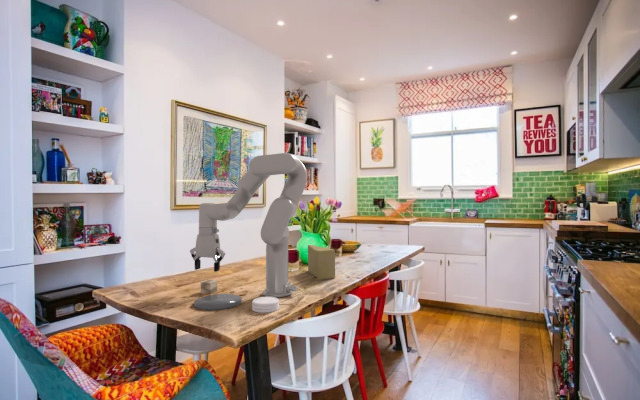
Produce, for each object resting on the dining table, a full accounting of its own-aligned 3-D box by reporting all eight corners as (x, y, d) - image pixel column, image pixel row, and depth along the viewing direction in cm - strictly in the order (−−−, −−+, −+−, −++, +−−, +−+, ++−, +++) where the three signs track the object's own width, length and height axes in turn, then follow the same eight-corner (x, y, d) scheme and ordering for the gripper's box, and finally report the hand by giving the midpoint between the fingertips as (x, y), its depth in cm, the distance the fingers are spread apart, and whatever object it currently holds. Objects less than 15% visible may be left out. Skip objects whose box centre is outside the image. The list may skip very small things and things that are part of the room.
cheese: (301, 272, 199) (300, 244, 199) (316, 270, 203) (316, 243, 203) (318, 280, 179) (318, 250, 179) (335, 278, 184) (335, 248, 183)
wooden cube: (217, 291, 161) (217, 280, 160) (210, 294, 156) (210, 282, 156) (207, 290, 162) (207, 279, 162) (200, 293, 157) (200, 282, 157)
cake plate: (249, 298, 149) (249, 295, 149) (225, 312, 131) (225, 309, 131) (211, 295, 154) (211, 292, 154) (184, 308, 137) (183, 305, 137)
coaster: (280, 304, 141) (279, 295, 141) (277, 313, 131) (277, 303, 131) (254, 305, 140) (254, 296, 140) (250, 313, 130) (249, 304, 130)
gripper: (229, 231, 160) (228, 270, 160) (196, 229, 165) (195, 266, 165) (220, 233, 152) (219, 273, 153) (185, 230, 157) (184, 270, 158)
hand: (207, 270), depth 159 cm, fingers open, 9 cm apart
